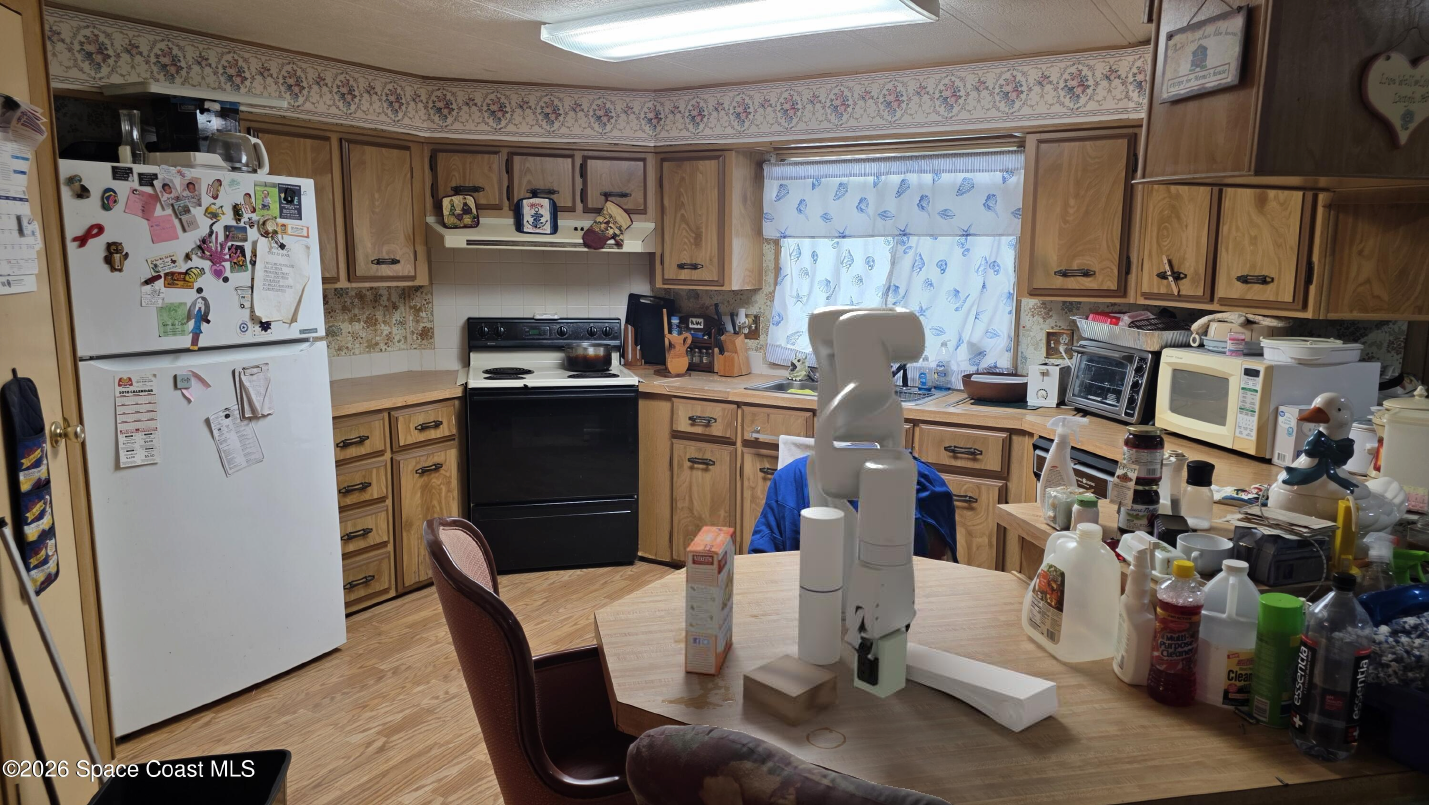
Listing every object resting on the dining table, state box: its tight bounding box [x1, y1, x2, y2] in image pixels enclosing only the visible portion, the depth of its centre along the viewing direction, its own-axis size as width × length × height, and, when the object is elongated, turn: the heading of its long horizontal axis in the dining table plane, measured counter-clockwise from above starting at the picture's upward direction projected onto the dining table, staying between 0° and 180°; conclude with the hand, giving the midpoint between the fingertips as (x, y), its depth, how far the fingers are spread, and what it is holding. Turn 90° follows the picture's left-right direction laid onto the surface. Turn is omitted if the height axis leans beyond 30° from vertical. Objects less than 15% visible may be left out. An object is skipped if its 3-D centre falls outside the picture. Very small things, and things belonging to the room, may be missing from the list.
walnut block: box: [742, 653, 838, 729], centre depth 135 cm, size 10×10×5 cm
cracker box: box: [684, 525, 736, 676], centre depth 150 cm, size 14×6×21 cm, turn 168°
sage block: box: [853, 629, 908, 699], centre depth 124 cm, size 5×5×8 cm
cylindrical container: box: [797, 507, 844, 666], centre depth 150 cm, size 7×7×25 cm
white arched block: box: [905, 642, 1059, 733], centre depth 140 cm, size 10×7×28 cm
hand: (880, 674), depth 125 cm, fingers closed on sage block, 4 cm apart
